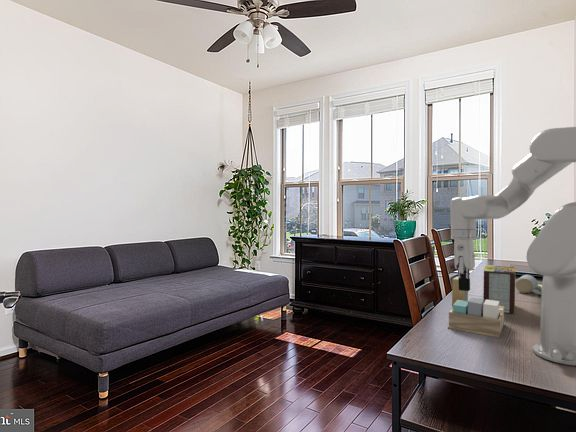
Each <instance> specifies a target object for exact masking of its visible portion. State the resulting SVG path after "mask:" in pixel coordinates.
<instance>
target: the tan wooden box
mask: <svg viewBox="0 0 576 432" xmlns="http://www.w3.org/2000/svg"><path fill="white" fill-rule="evenodd" d="M457 301H462V300H457ZM468 301H469V300H468ZM468 301H464V302H468ZM504 324H505V313H504V306H499V318H498V319H492V318H486V317H483V316H482V317H480V316H474V315H467V314H461V313H455V312H453V308H452V307H451V309H450V311H449V312H448V325H447V329H448V330H455V331H460V332H465V333H470V334H475V335H481V336H486V337H487V336H488V337H491V338H496V339H497V338H498V339H500V338H501V335H502V332H503V328H504Z"/></svg>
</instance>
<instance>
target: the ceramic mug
mask: <svg viewBox="0 0 576 432" xmlns="http://www.w3.org/2000/svg"><path fill="white" fill-rule="evenodd" d="M538 285H539V284H538V280H537V278H535V277H534V276H532V275H530V274H523V275H521V276H520V277H518V278H517V279H516V280H515V289H516V290H517V291H518V292H520V293H522V294H529V293H531V292H532V293H534V294H536V295H539V296H541V294H542V287H539V286H538Z"/></svg>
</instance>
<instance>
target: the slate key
mask: <svg viewBox="0 0 576 432" xmlns="http://www.w3.org/2000/svg"><path fill="white" fill-rule="evenodd" d="M483 304H484V299H483V298H477V297H472V296H471V297H470V298H469V299H468V315H474V316H480V317H482V316H483Z"/></svg>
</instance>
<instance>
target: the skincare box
mask: <svg viewBox="0 0 576 432" xmlns="http://www.w3.org/2000/svg"><path fill="white" fill-rule="evenodd" d="M458 278H459V276H454V277H453V278H452V289H451V290H452V291H451V292H452V293H451V294H452V297H451V299H452V300H451V309H452V308H453V304H454V303H455V302H456V301H457V300H462V301H469V298H468V297H469V291H461V290H459V282H458Z"/></svg>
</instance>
